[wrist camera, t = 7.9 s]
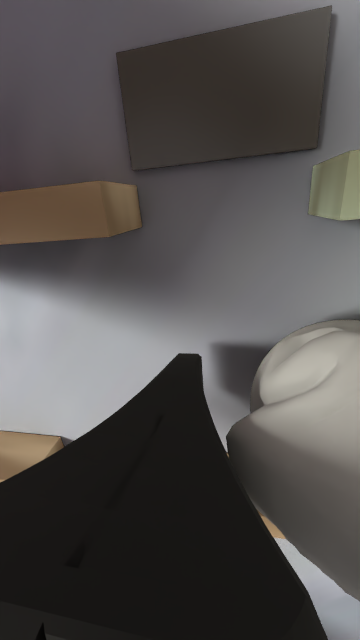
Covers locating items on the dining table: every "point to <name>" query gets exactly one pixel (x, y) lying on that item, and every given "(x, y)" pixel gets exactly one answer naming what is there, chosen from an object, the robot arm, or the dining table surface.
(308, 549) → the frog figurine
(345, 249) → the dining table surface
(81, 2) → the dining table surface
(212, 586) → the robot arm
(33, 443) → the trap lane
